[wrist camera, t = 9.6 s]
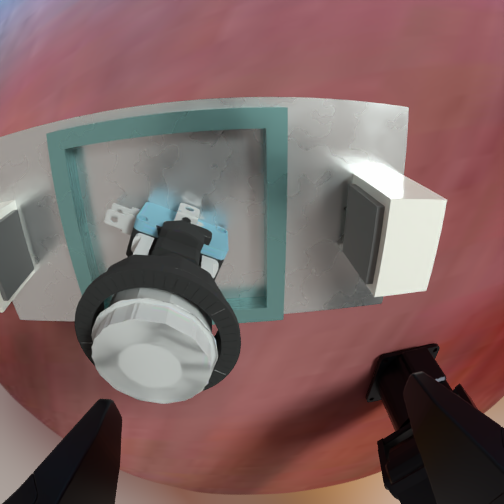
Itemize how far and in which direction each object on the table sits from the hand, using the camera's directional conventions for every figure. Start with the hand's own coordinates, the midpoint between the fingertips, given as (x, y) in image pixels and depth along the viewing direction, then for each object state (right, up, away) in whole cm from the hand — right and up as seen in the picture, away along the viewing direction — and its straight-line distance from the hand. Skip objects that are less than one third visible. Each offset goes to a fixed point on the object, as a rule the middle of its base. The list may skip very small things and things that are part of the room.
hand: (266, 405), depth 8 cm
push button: (-5, +6, +9) cm, 12 cm away
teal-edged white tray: (-5, +7, +10) cm, 13 cm away
